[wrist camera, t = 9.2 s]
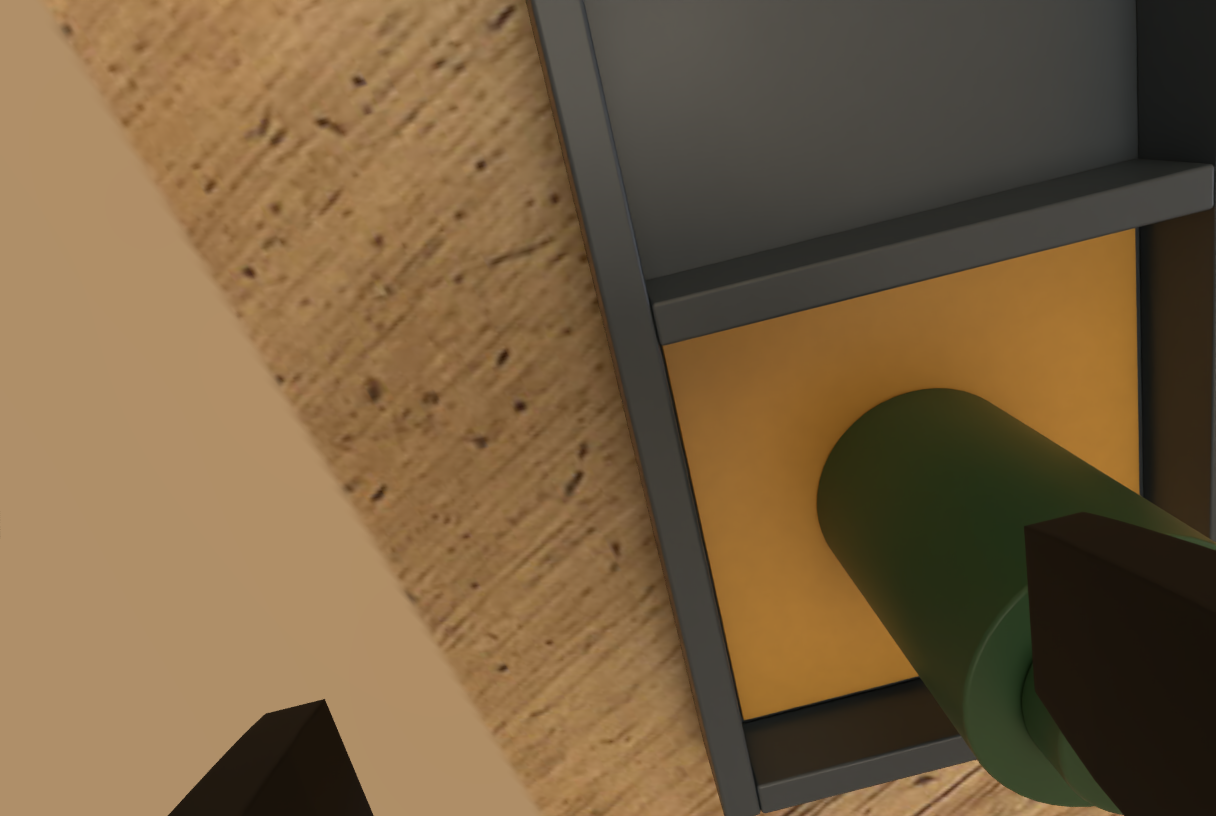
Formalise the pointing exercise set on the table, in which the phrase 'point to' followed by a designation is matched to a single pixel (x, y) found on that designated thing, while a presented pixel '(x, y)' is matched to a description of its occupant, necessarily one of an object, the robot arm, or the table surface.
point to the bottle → (969, 564)
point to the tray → (877, 303)
